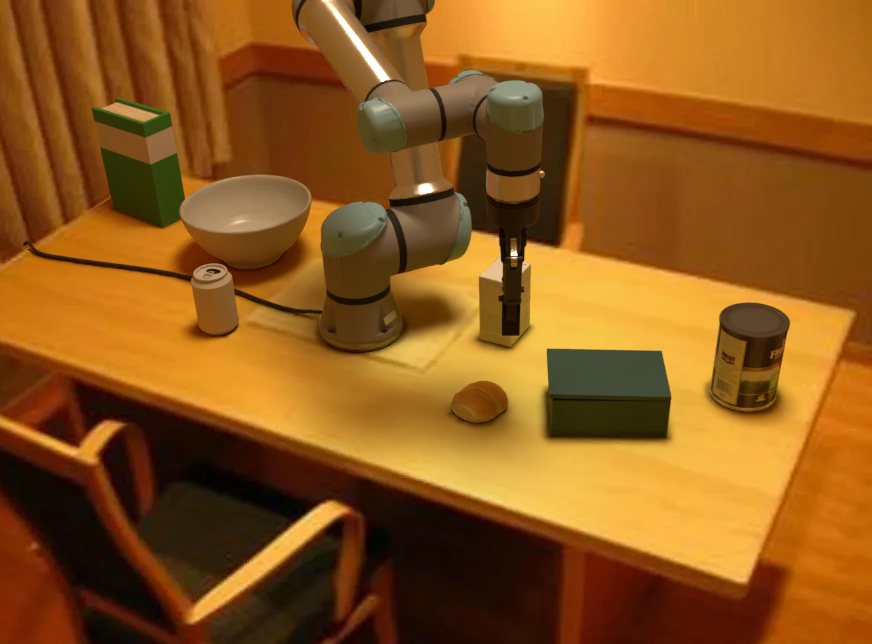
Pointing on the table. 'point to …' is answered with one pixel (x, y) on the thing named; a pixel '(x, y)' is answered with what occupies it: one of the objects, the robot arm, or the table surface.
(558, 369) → the lunchbox lid
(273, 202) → the decorative bowl
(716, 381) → the coffee can
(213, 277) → the can
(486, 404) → the bread roll
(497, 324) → the small box
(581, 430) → the box
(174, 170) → the hardback book
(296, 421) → the table surface
